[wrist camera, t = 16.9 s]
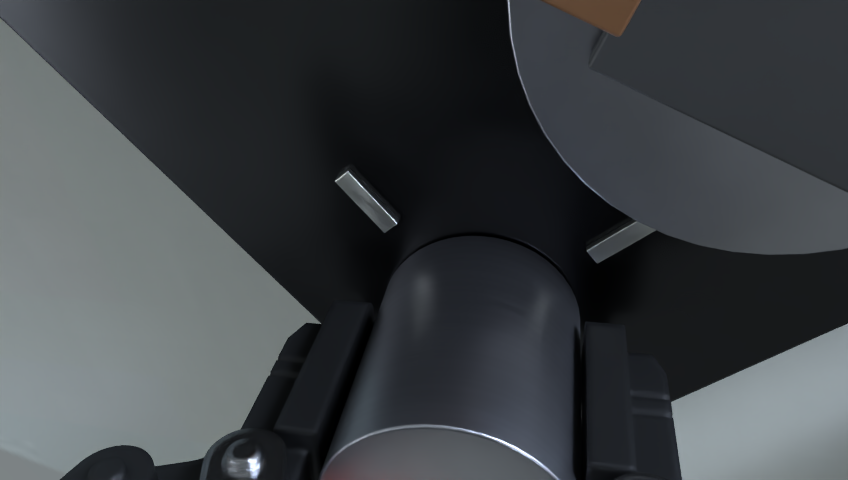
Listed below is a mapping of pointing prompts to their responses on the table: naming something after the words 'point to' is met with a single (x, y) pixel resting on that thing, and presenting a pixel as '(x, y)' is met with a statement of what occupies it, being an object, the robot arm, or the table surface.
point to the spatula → (737, 69)
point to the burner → (664, 152)
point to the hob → (406, 163)
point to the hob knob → (466, 372)
